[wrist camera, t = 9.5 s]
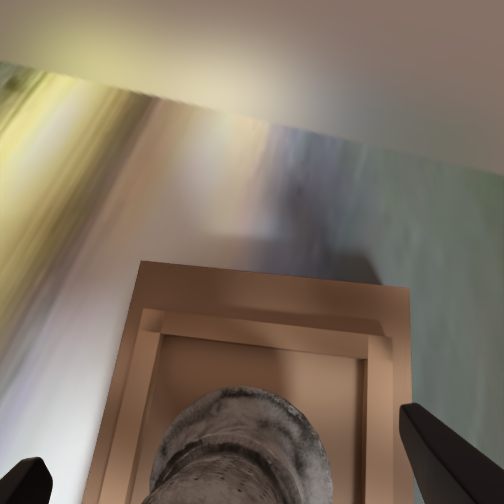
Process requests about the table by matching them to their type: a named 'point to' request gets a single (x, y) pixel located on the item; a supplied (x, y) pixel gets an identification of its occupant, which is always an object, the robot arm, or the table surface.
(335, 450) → the walnut plinth
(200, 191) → the table surface
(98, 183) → the table surface
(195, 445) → the antique pepper shaker
